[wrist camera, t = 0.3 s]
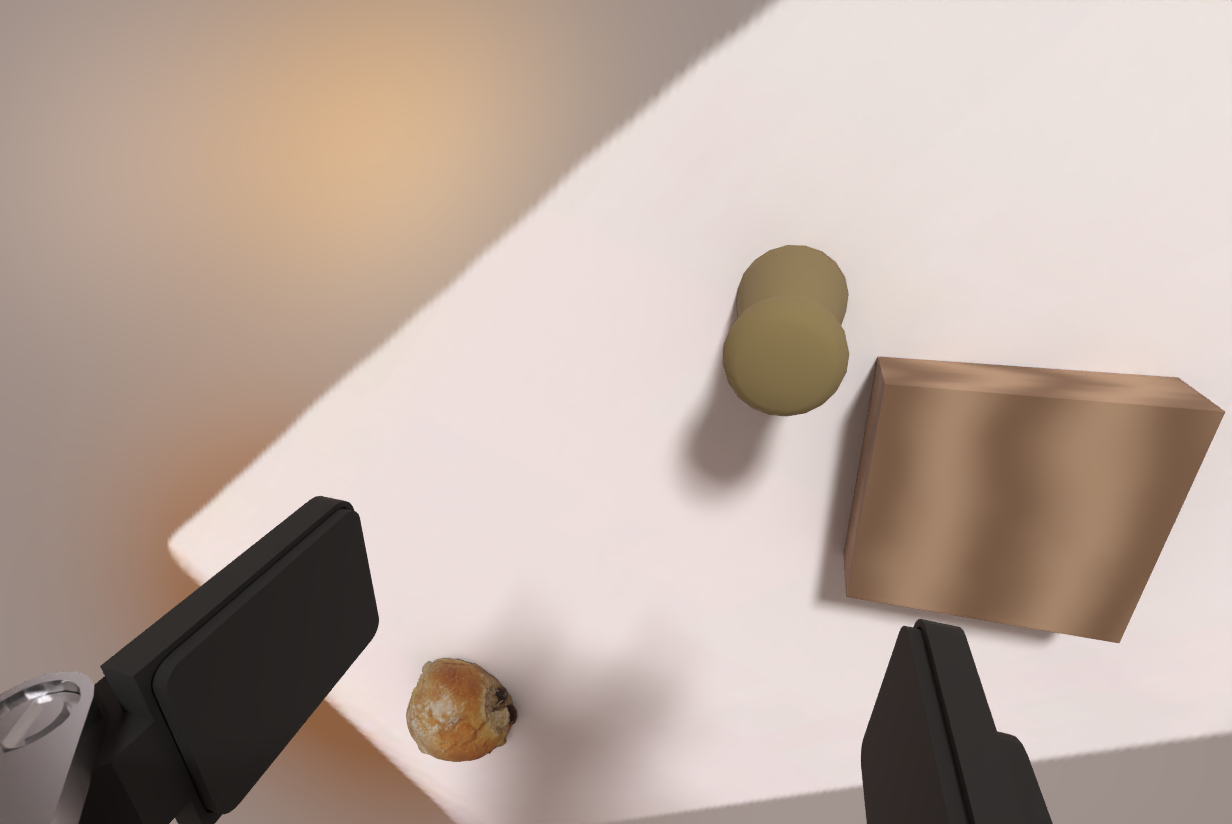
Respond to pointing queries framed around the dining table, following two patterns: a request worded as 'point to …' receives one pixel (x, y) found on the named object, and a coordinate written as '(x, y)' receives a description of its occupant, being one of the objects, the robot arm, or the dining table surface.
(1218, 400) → the dining table surface
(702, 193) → the dining table surface
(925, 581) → the walnut plinth
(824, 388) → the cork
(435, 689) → the bread roll
